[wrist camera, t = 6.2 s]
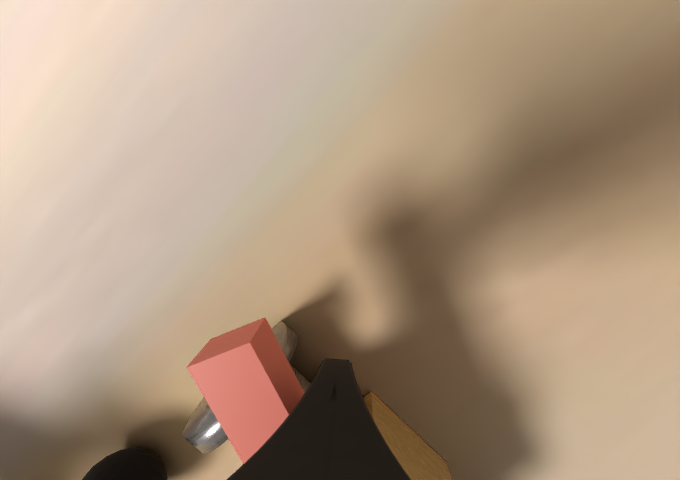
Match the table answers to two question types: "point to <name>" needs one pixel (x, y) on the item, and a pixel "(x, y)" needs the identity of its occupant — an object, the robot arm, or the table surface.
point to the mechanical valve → (129, 466)
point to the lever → (247, 384)
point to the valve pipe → (404, 443)
